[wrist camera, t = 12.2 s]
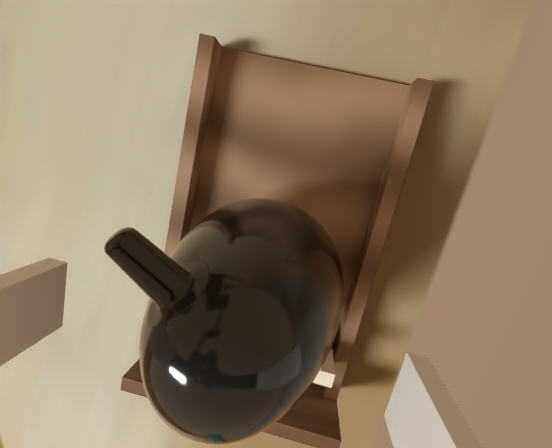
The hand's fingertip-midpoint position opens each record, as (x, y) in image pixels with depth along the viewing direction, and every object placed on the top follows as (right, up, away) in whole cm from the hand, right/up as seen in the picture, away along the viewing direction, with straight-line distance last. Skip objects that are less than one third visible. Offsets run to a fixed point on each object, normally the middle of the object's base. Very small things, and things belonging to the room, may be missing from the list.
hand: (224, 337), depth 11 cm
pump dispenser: (+1, +1, +12) cm, 12 cm away
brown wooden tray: (+2, +4, +12) cm, 13 cm away
